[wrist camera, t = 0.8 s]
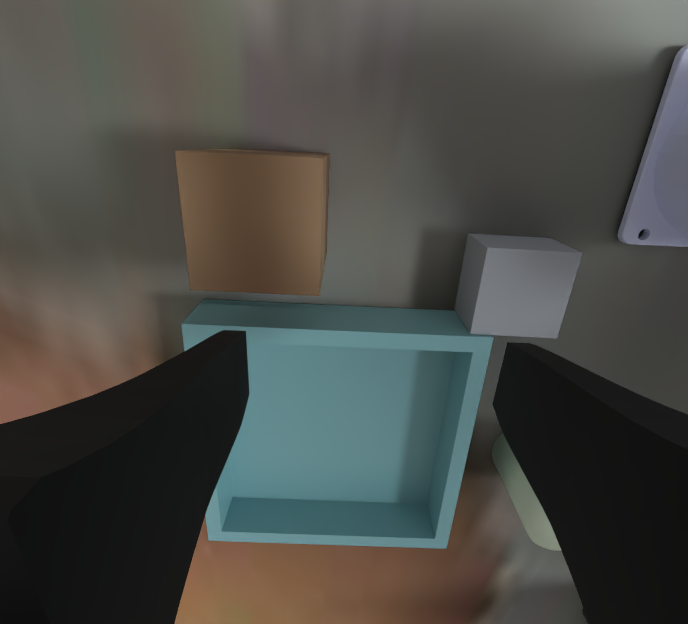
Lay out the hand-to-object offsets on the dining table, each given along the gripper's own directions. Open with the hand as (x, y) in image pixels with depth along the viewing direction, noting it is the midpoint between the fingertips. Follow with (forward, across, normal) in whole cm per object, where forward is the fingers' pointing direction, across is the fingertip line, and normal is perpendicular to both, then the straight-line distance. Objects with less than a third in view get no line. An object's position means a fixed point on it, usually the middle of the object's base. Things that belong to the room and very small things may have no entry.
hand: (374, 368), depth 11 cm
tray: (+9, +1, +9) cm, 13 cm away
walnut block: (+10, +4, -3) cm, 11 cm away
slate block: (+10, -7, 0) cm, 12 cm away
